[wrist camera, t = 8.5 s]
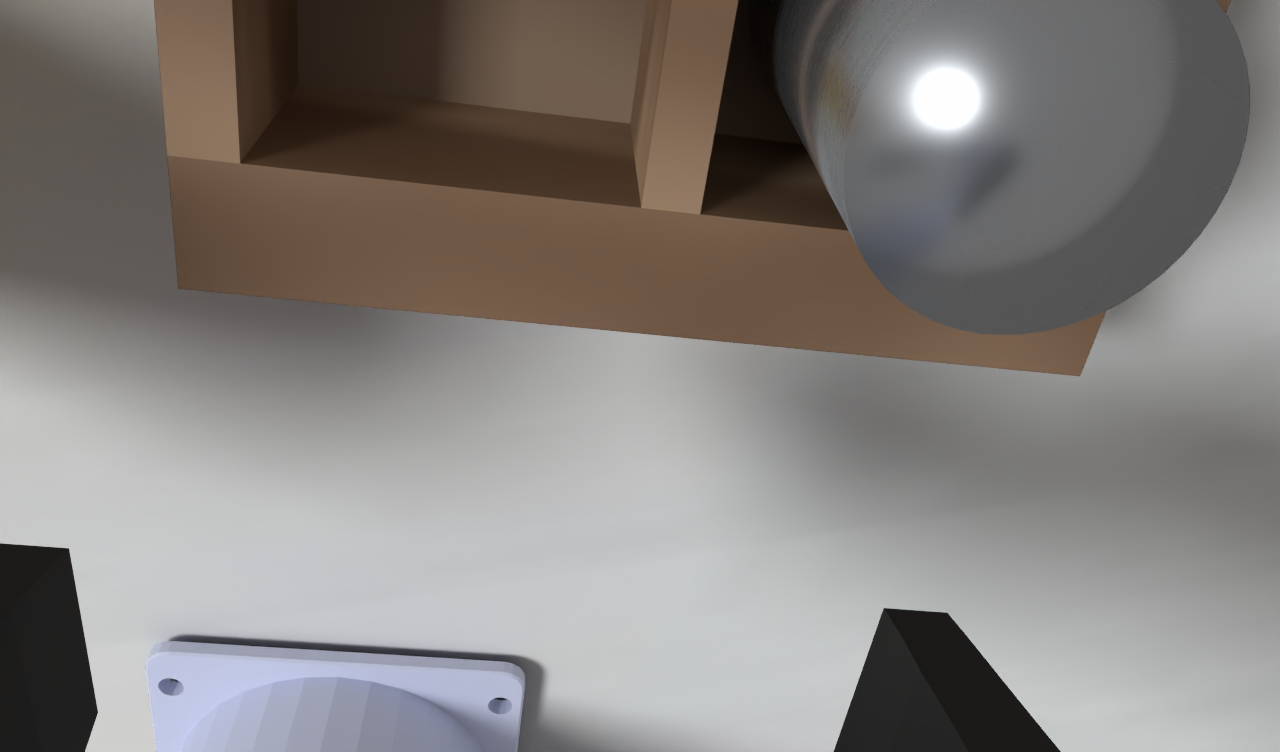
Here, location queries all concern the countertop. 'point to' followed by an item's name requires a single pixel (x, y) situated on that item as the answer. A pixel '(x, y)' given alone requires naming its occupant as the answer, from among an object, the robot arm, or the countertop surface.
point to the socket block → (526, 174)
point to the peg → (1013, 143)
